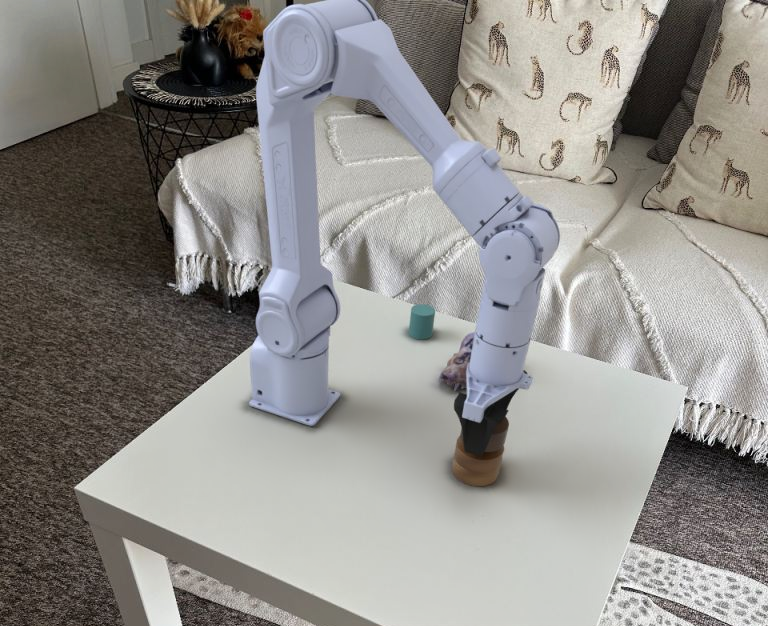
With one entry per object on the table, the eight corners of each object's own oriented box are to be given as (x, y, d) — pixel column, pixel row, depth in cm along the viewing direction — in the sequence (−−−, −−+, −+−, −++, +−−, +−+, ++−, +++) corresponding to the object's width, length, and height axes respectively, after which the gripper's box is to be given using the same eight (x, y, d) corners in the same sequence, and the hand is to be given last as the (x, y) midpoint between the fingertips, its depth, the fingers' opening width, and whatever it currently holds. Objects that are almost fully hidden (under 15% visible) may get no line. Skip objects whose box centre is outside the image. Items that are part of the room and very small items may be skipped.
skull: (457, 399, 95) (460, 356, 91) (418, 379, 100) (421, 338, 96) (517, 376, 101) (522, 335, 98) (478, 358, 106) (482, 319, 103)
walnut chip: (453, 443, 81) (456, 426, 79) (468, 419, 84) (471, 402, 82) (497, 457, 79) (501, 439, 78) (510, 432, 83) (514, 415, 81)
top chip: (447, 464, 83) (449, 450, 81) (463, 438, 86) (465, 425, 85) (492, 479, 81) (496, 465, 80) (507, 452, 85) (510, 439, 84)
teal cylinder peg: (405, 335, 107) (407, 311, 105) (414, 325, 110) (416, 301, 107) (427, 342, 106) (430, 317, 104) (435, 331, 109) (438, 307, 106)
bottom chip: (445, 477, 84) (447, 464, 83) (461, 451, 88) (463, 438, 86) (490, 492, 83) (492, 479, 81) (504, 465, 86) (507, 452, 85)
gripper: (521, 378, 67) (495, 486, 76) (558, 313, 76) (531, 416, 86) (450, 358, 68) (434, 466, 78) (495, 297, 78) (476, 399, 88)
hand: (481, 438), depth 82 cm, fingers closed on walnut chip, 5 cm apart
